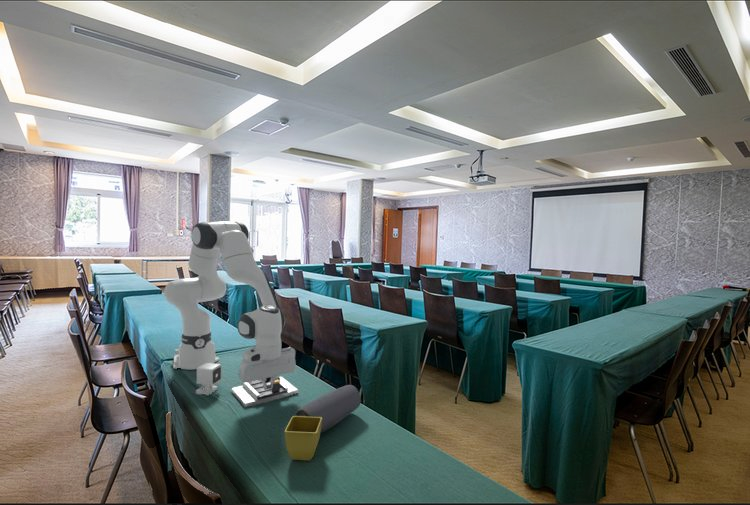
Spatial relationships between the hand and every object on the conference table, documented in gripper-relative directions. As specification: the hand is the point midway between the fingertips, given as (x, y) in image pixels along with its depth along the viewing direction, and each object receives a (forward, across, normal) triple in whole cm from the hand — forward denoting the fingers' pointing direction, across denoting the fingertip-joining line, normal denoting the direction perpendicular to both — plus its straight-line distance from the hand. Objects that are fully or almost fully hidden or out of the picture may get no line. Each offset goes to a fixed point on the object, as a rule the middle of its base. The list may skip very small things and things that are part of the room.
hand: (268, 388), depth 138 cm
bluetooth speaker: (+4, -9, +27) cm, 29 cm away
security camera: (+4, +16, -18) cm, 25 cm away
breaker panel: (+4, -1, -6) cm, 7 cm away
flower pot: (+4, +5, +37) cm, 38 cm away
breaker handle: (+2, -3, 0) cm, 3 cm away
